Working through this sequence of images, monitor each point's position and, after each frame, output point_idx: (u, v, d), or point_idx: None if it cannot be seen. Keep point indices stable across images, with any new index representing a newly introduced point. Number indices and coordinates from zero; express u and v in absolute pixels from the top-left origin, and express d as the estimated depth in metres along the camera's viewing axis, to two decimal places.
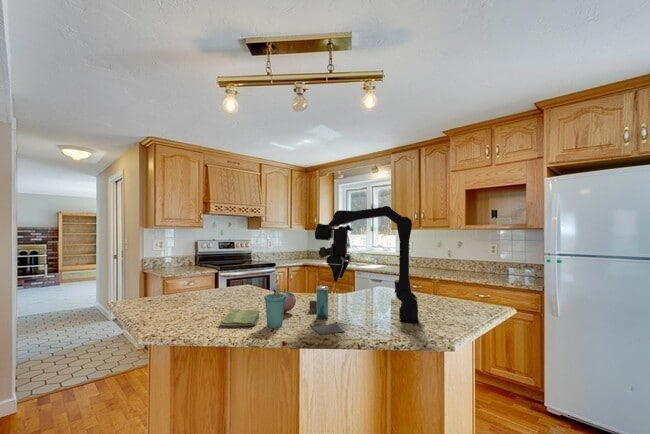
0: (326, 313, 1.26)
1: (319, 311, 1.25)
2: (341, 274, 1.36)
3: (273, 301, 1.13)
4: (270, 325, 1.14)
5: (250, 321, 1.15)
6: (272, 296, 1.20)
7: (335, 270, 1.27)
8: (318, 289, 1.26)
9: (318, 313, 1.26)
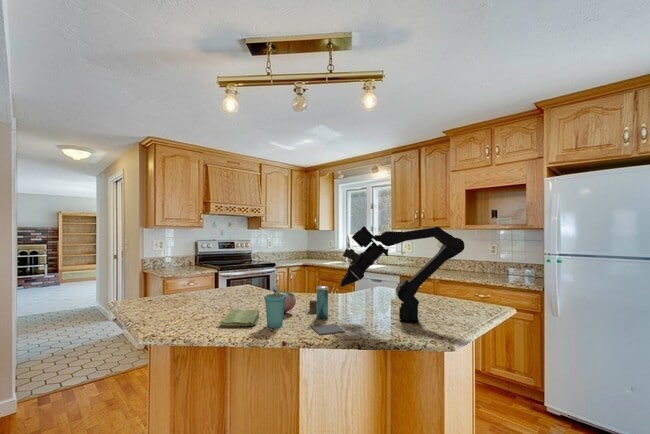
0: (326, 313, 1.26)
1: (319, 311, 1.25)
2: None
3: (273, 301, 1.13)
4: (270, 325, 1.14)
5: (250, 321, 1.15)
6: (272, 296, 1.20)
7: (349, 278, 1.21)
8: (318, 289, 1.26)
9: (318, 313, 1.26)
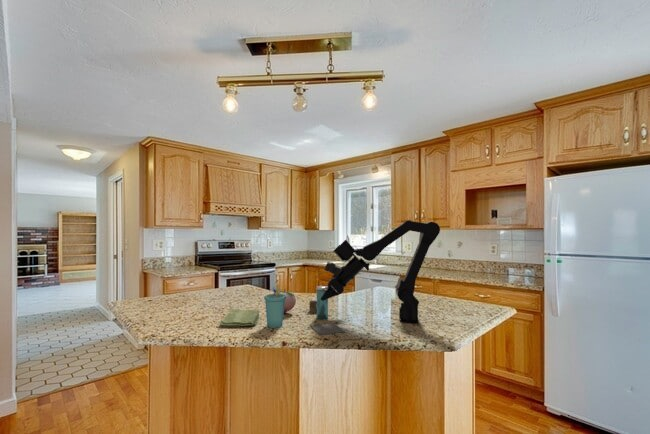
0: (326, 313, 1.26)
1: (319, 311, 1.25)
2: None
3: (273, 301, 1.13)
4: (270, 325, 1.14)
5: (250, 321, 1.15)
6: (272, 296, 1.20)
7: (329, 292, 1.22)
8: (318, 289, 1.26)
9: (318, 313, 1.26)
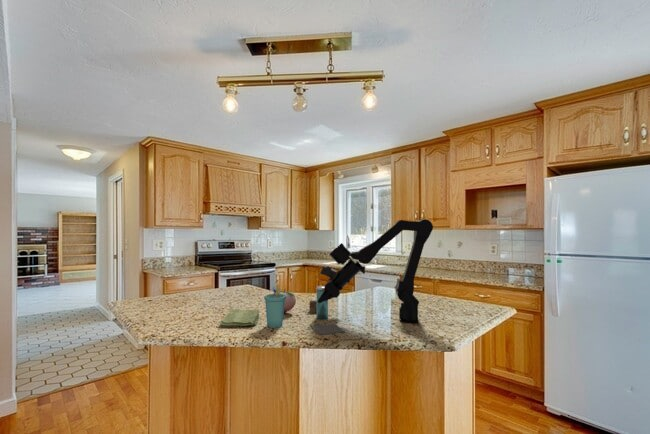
0: (326, 313, 1.26)
1: (319, 311, 1.25)
2: None
3: (273, 301, 1.13)
4: (270, 325, 1.14)
5: (250, 321, 1.15)
6: (272, 296, 1.20)
7: (325, 294, 1.24)
8: (318, 289, 1.26)
9: (318, 313, 1.26)
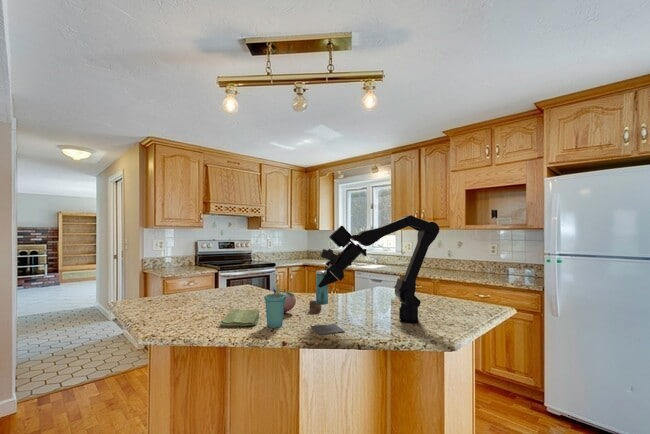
0: (327, 298, 1.21)
1: (320, 297, 1.20)
2: None
3: (273, 301, 1.13)
4: (270, 325, 1.14)
5: (250, 321, 1.15)
6: (272, 296, 1.20)
7: (327, 278, 1.19)
8: (318, 273, 1.21)
9: (318, 298, 1.20)
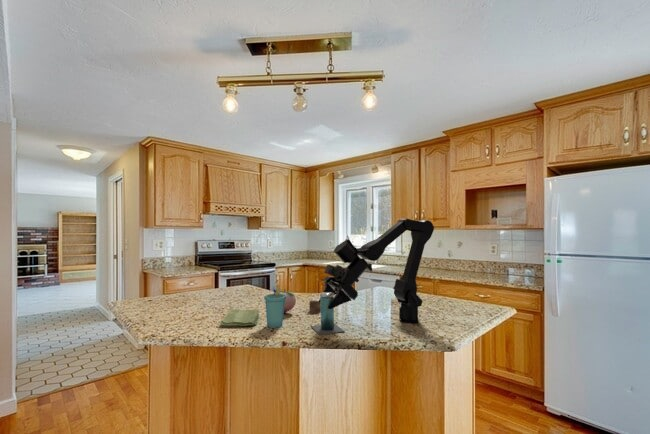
0: (333, 322, 1.12)
1: (327, 322, 1.10)
2: None
3: (273, 301, 1.13)
4: (270, 325, 1.14)
5: (251, 321, 1.15)
6: (272, 296, 1.20)
7: (338, 298, 1.08)
8: (324, 296, 1.10)
9: (325, 324, 1.10)
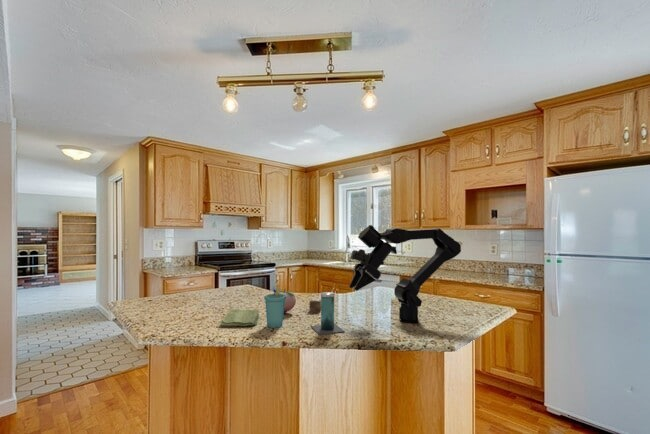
0: (333, 322, 1.12)
1: (327, 322, 1.10)
2: (352, 285, 1.24)
3: (273, 301, 1.13)
4: (270, 325, 1.14)
5: (251, 321, 1.15)
6: (272, 296, 1.20)
7: (363, 280, 1.14)
8: (325, 296, 1.10)
9: (325, 324, 1.10)
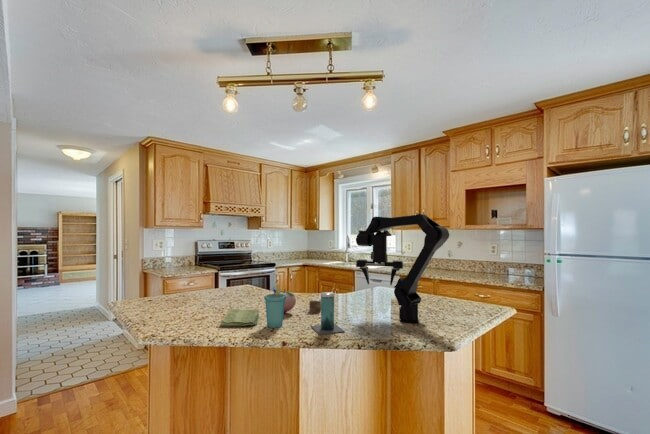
0: (333, 322, 1.12)
1: (327, 322, 1.10)
2: None
3: (273, 301, 1.13)
4: (270, 325, 1.14)
5: (251, 320, 1.16)
6: (272, 296, 1.20)
7: None
8: (325, 296, 1.10)
9: (326, 324, 1.10)
